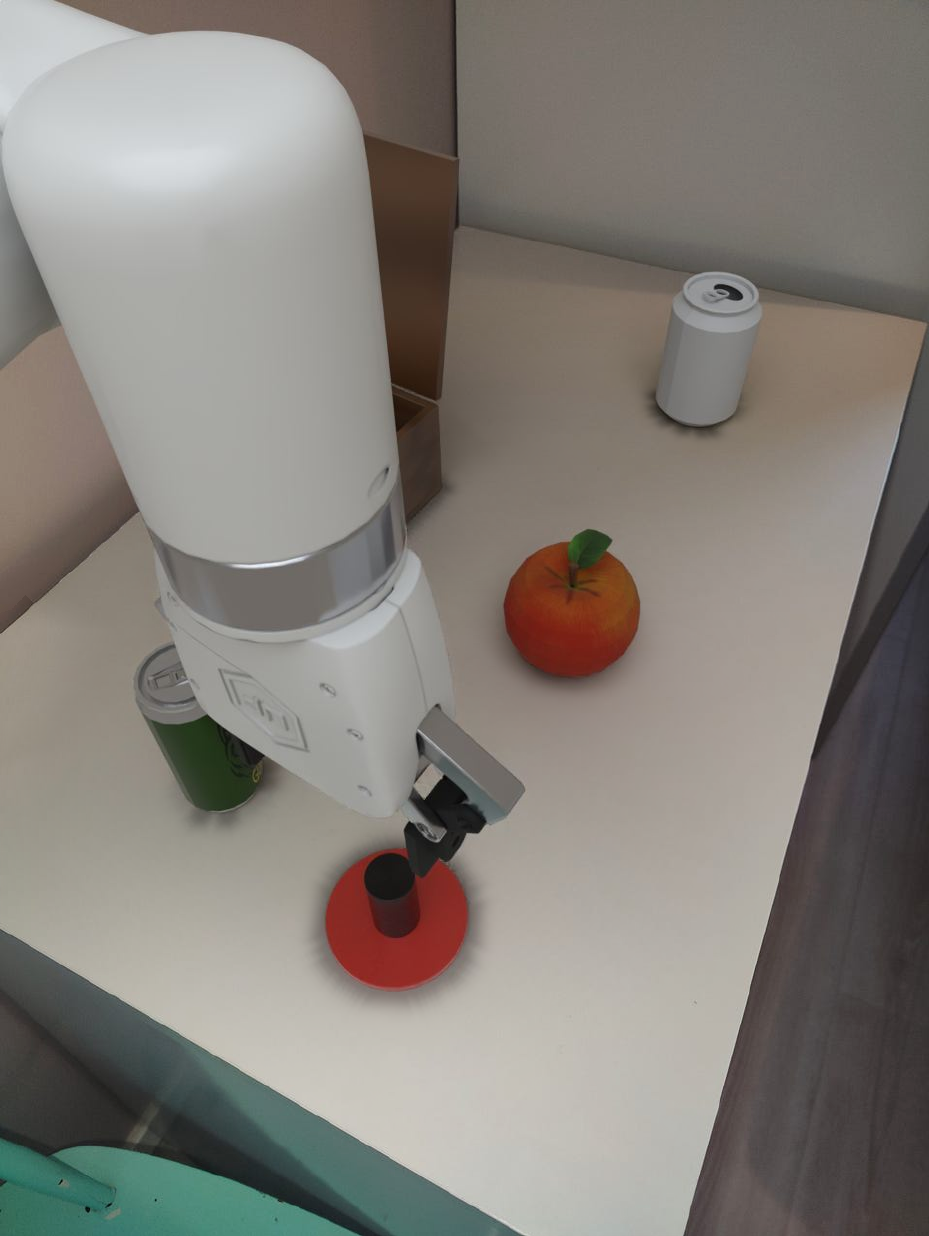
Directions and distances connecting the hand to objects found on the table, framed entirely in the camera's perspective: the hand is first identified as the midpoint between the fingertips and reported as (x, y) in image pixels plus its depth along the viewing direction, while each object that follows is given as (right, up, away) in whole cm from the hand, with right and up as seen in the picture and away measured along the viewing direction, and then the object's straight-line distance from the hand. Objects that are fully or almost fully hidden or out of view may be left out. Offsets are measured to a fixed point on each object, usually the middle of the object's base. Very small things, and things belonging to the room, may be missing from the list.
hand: (350, 792), depth 41 cm
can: (+27, +27, +44) cm, 58 cm away
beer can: (-11, -3, +19) cm, 22 cm away
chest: (-7, +17, +35) cm, 40 cm away
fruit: (+13, +6, +26) cm, 29 cm away
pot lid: (+1, -10, +13) cm, 17 cm away
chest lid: (-2, +34, +26) cm, 43 cm away
